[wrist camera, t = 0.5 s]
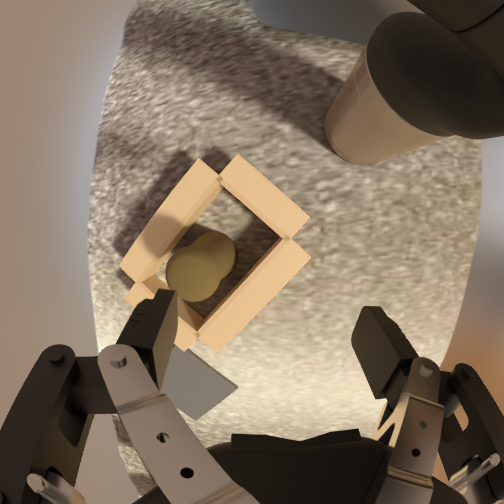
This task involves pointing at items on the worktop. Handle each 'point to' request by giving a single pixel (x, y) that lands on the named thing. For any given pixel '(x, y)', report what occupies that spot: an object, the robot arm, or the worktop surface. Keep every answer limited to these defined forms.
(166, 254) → the carton
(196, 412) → the mat
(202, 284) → the cork
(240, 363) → the worktop surface
